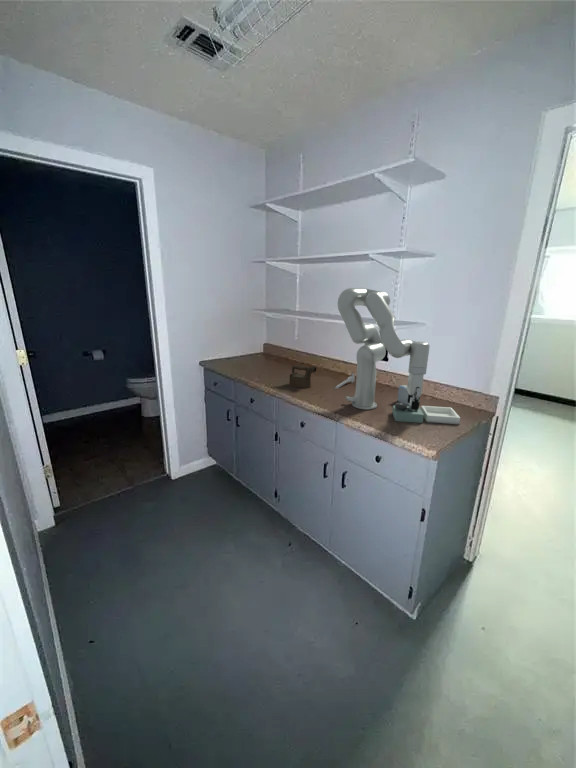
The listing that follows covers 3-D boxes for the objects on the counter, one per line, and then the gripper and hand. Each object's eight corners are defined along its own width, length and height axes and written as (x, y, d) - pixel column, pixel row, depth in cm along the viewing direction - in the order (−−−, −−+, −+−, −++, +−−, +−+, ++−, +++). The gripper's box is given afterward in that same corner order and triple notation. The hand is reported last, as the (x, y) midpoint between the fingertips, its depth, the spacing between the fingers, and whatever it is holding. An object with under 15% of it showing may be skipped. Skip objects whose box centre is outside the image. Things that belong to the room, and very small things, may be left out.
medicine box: (414, 404, 173) (416, 388, 171) (408, 405, 171) (410, 389, 169) (403, 399, 180) (404, 384, 177) (396, 401, 178) (398, 385, 175)
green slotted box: (395, 420, 151) (396, 406, 149) (392, 413, 161) (393, 399, 159) (422, 422, 149) (424, 408, 147) (418, 414, 159) (419, 401, 157)
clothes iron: (310, 390, 195) (311, 368, 191) (288, 385, 203) (288, 364, 200) (317, 386, 201) (318, 365, 197) (295, 382, 210) (295, 361, 206)
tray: (426, 422, 151) (427, 415, 150) (420, 411, 163) (421, 405, 162) (459, 424, 148) (460, 417, 147) (450, 413, 161) (451, 407, 160)
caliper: (352, 382, 213) (353, 372, 211) (354, 382, 212) (354, 373, 210) (334, 389, 198) (334, 379, 196) (335, 389, 197) (336, 379, 196)
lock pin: (408, 419, 154) (411, 398, 151) (407, 416, 156) (409, 396, 154) (415, 419, 153) (417, 399, 150) (414, 417, 156) (416, 397, 153)
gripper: (405, 364, 157) (401, 399, 162) (412, 374, 140) (407, 412, 145) (422, 365, 156) (417, 400, 161) (430, 375, 139) (425, 413, 144)
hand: (412, 406), depth 153 cm, fingers open, 8 cm apart
